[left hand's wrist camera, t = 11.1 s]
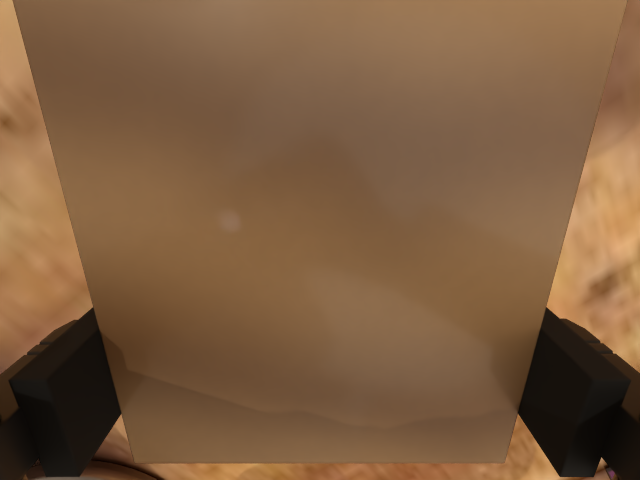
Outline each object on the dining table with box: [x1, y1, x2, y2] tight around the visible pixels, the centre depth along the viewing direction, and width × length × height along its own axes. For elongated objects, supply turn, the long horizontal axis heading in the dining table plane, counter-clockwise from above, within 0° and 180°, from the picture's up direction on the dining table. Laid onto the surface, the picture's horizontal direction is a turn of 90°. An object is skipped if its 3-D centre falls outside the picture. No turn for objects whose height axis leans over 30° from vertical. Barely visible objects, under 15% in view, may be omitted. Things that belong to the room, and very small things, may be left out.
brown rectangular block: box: [13, 0, 628, 463], centre depth 11 cm, size 19×11×10 cm, turn 0°
